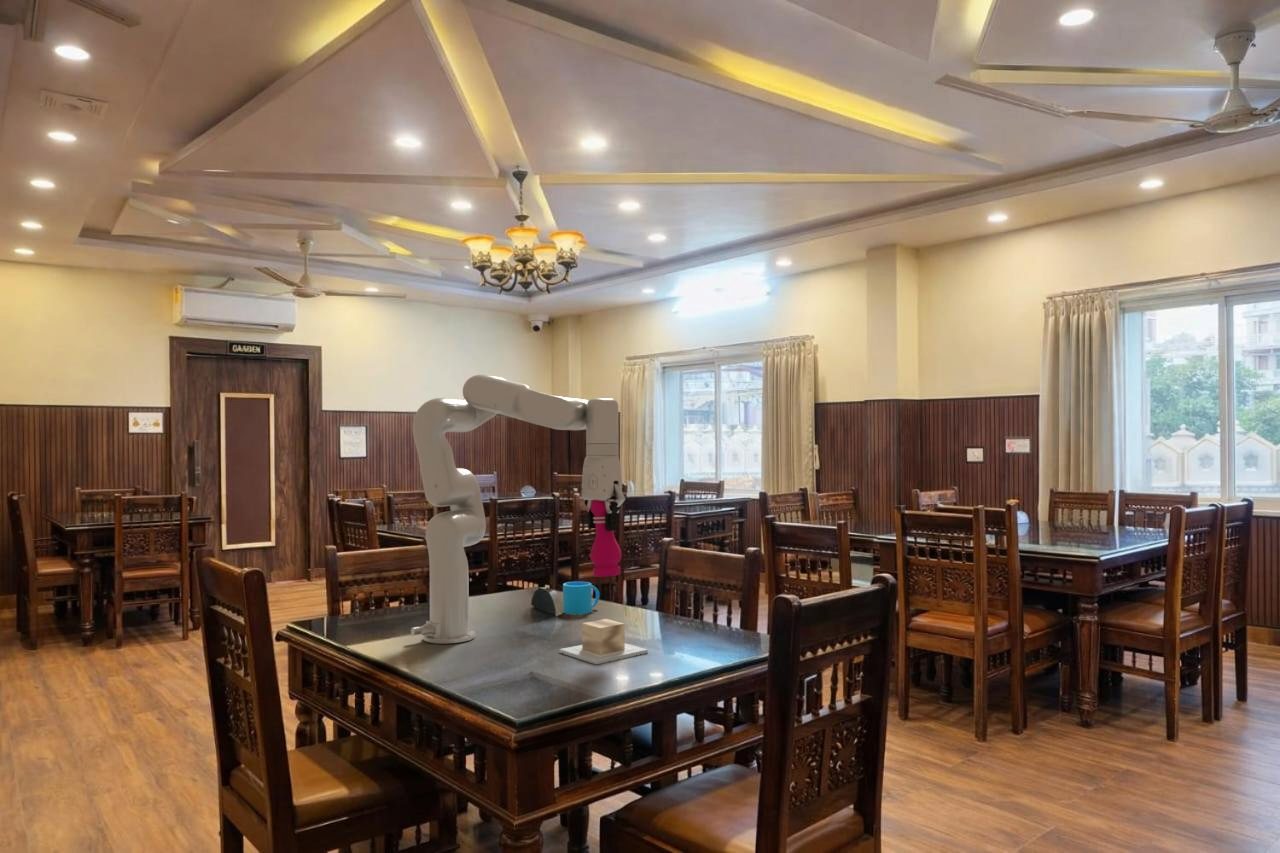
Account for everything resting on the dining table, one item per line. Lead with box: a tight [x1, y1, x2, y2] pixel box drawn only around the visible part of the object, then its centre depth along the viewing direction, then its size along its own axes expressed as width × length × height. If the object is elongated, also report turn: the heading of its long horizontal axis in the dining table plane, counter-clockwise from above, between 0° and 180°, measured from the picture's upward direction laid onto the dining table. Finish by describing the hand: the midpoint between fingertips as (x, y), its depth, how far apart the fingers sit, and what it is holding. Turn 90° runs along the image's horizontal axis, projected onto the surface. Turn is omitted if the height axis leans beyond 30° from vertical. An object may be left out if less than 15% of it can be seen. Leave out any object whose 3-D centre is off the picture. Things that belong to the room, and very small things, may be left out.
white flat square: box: [559, 642, 649, 665], centre depth 196 cm, size 15×14×1 cm
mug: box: [562, 581, 601, 615], centre depth 244 cm, size 12×8×8 cm
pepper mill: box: [590, 497, 622, 578], centre depth 196 cm, size 7×7×20 cm
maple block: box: [581, 618, 626, 655], centre depth 196 cm, size 7×7×6 cm
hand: (602, 528), depth 196 cm, fingers closed on pepper mill, 5 cm apart
